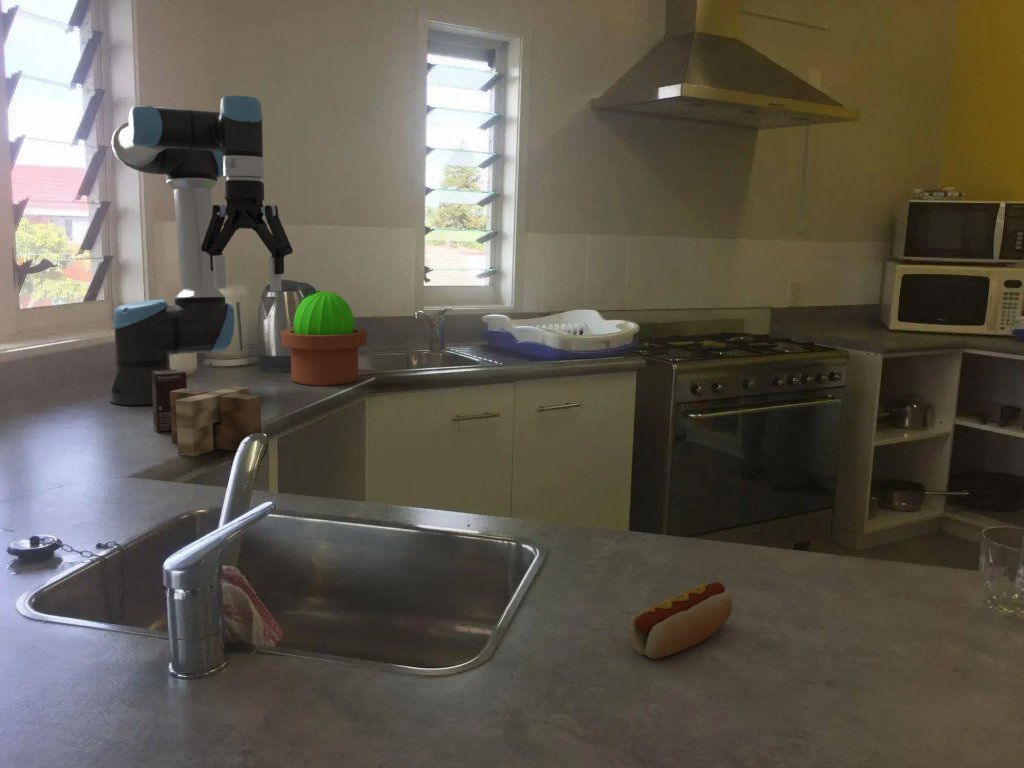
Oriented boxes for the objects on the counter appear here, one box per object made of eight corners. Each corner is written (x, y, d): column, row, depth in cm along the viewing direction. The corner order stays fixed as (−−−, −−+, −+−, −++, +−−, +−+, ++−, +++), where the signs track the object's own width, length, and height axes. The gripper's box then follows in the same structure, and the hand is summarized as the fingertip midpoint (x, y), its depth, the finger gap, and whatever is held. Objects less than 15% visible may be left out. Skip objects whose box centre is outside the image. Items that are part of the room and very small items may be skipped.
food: (661, 673, 83) (663, 623, 82) (615, 653, 86) (617, 605, 86) (741, 629, 92) (744, 584, 91) (697, 612, 96) (699, 569, 95)
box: (158, 433, 175) (155, 373, 173) (153, 429, 179) (150, 370, 177) (189, 430, 179) (186, 371, 177) (184, 425, 182) (181, 368, 180)
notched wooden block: (172, 442, 168) (169, 391, 166) (185, 439, 171) (183, 388, 169) (249, 452, 161) (247, 399, 159) (261, 448, 164) (260, 396, 163)
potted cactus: (382, 381, 241) (381, 289, 237) (316, 390, 225) (314, 292, 221) (333, 371, 255) (331, 285, 251) (267, 380, 239) (264, 288, 235)
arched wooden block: (193, 456, 158) (191, 401, 156) (178, 454, 159) (175, 400, 157) (250, 438, 172) (249, 387, 171) (236, 436, 174) (234, 386, 172)
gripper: (179, 179, 172) (184, 288, 175) (285, 178, 162) (288, 293, 166) (206, 181, 179) (210, 286, 182) (309, 180, 169) (311, 291, 173)
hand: (247, 290), depth 174 cm, fingers open, 13 cm apart
